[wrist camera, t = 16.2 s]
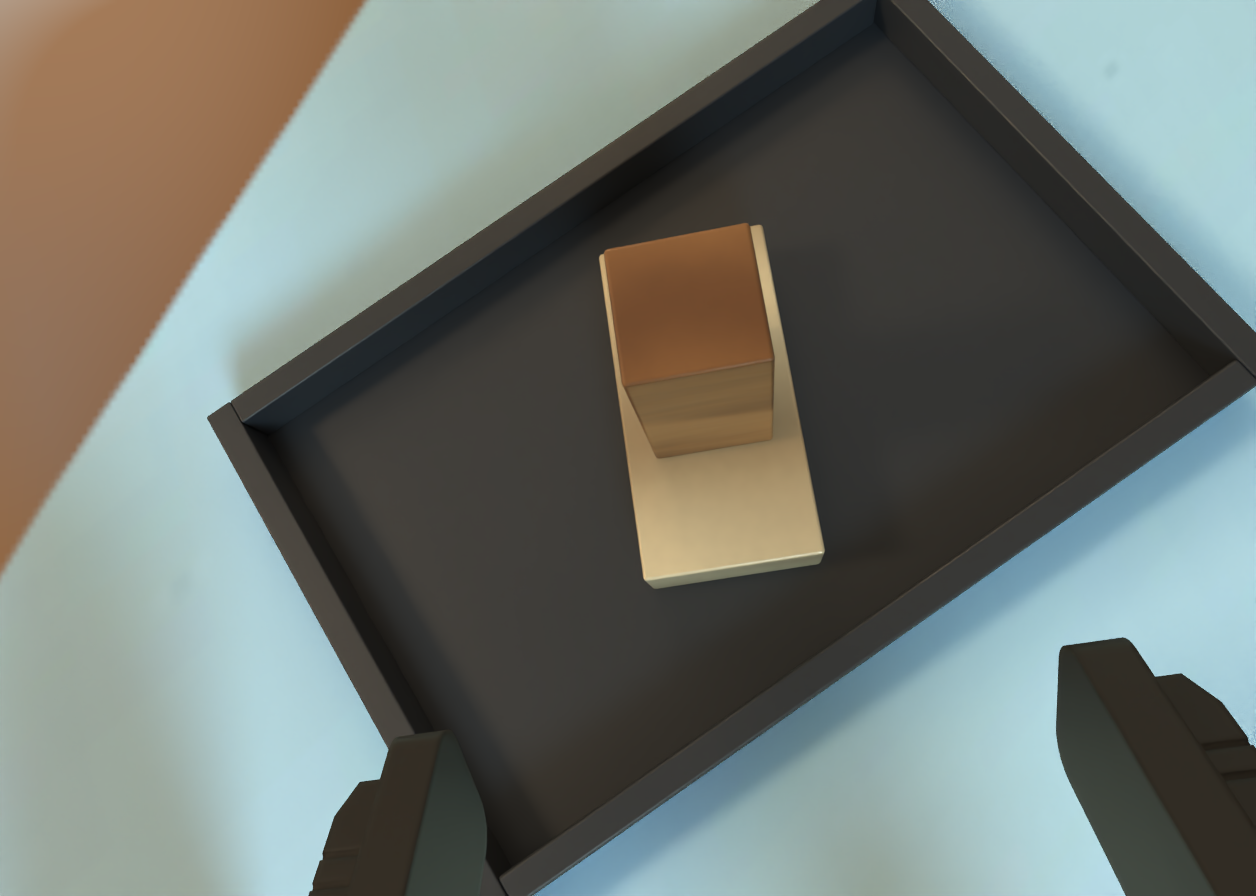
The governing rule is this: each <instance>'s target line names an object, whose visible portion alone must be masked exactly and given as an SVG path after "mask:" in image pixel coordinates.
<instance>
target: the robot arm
mask: <svg viewBox="0 0 1256 896" xmlns="http://www.w3.org/2000/svg"><path fill="white" fill-rule="evenodd" d="M1056 735H1057V743H1058V748H1059V753H1060V757H1061V760H1062V764H1063V767H1064V770H1065V772H1066V775H1067V777H1068V779H1069V782H1070V784H1071V786H1072V788H1073V790H1074V792H1075V794H1076V796H1077V798H1078V800H1079V802H1080V804H1081V806H1082V808H1083V810H1084V812H1085V814H1086V816H1087V818H1088V820H1089V822H1090V824H1091V826H1092V828H1093V830H1094V832H1095V834H1096V836H1097V838H1098V840H1099V842H1100V844H1101V846H1102V848H1103V850H1104V852H1105V854H1106V856H1107V858H1108V860H1109V863H1110V865H1111V867H1112V869H1113V871H1114V873H1115V875H1116V877H1117V879H1118V881H1119V883H1120V885H1121V887H1122V889H1123V891H1124V893H1125V895H1126V896H1256V748H1255V747H1254V745H1250V744H1249V742H1248V737H1247V736H1246V734H1245V733H1244V732H1243V730H1242V729H1241V728H1240V726H1239V725H1238V724H1237V722H1236V721H1235V719H1234V718H1233V717H1232V715H1231V714H1230V713H1229V711H1228V710H1227V709H1226V707H1225V706H1224V704H1223V703H1222V702H1221V701H1220V700H1218V699H1217V698H1215V697H1214V696H1212V695H1211V694H1210V693H1208V692H1207V691H1205V690H1204V689H1203V688H1201V687H1200V686H1198V685H1197V684H1196V683H1194V682H1193V681H1191V680H1190V679H1188V678H1187V677H1186V676H1184V675H1183V674H1173V675H1166V676H1159V677H1155V676H1154V674H1153V673H1152V672H1151V670H1150V669H1149V667H1148V666H1147V664H1146V663H1145V661H1144V660H1143V658H1142V657H1141V655H1140V654H1139V652H1138V651H1137V649H1136V648H1135V646H1134V645H1133V644H1132V643H1131V642H1130V641H1129V640H1128V639H1126V638H1116V639H1109V640H1102V641H1095V642H1088V643H1080V644H1073V645H1066V646H1063V647H1062V648H1061V650H1060V653H1059V667H1058V692H1057V718H1056ZM486 848H487V825H486V817H485V811H484V807H483V803H482V800H481V798H480V795H479V793H478V790H477V788H476V785H475V783H474V780H473V778H472V775H471V773H470V770H469V768H468V766H467V763H466V761H465V758H464V756H463V753H462V751H461V748H460V746H459V743H458V741H457V738H456V736H455V735H454V733H453V732H452V731H451V730H442V731H435V732H428V733H420V734H413V735H406V736H399V737H396V738H394V740H393V741H392V743H391V744H390V747H389V750H388V753H387V757H386V760H385V764H384V767H383V771H382V774H381V778H380V779H379V780H372V781H364V782H360V783H359V784H358V785H357V787H356V788H355V789H354V791H353V792H352V793H351V795H350V796H349V797H348V799H347V800H346V801H345V803H344V804H343V806H342V807H341V808H340V810H339V811H338V812H337V814H336V815H335V816H334V819H333V822H332V826H331V829H330V832H329V835H328V838H327V841H326V844H325V847H324V850H323V853H322V854H323V860H321V861H320V862H319V865H318V868H317V871H316V874H315V877H314V880H313V883H312V884H313V891H310V893H309V896H479V894H480V888H481V882H482V875H483V869H484V862H485V856H486Z"/></svg>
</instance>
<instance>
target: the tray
mask: <svg viewBox="0 0 1256 896" xmlns="http://www.w3.org/2000/svg"><path fill="white" fill-rule="evenodd" d="M742 223H748V224H749V226H755V225H762V227H763V230H764V235H765V241H766V246H767V251H768V256H769V261H770V267H771V272H772V277H773V282H774V287H775V293H776V298H777V303H778V308H779V313H780V319H781V324H782V329H783V334H784V340H785V345H786V350H787V355H788V360H789V366H790V371H791V376H792V381H793V386H794V392H795V397H796V402H797V407H798V412H799V418H800V423H801V428H802V433H803V438H804V444H805V449H806V454H807V459H808V465H809V470H810V475H811V480H812V485H813V491H814V496H815V501H816V506H817V511H818V517H819V522H820V527H821V532H822V537H823V543H824V548H825V552H824V555H823V557H822V560H821V562H820V563H819V564H816V565H810V566H803V567H797V568H790V569H784V570H777V571H770V572H764V573H757V574H751V575H744V576H738V577H731V578H725V579H718V580H711V581H705V582H698V583H692V584H685V585H679V586H672V587H666V588H659V589H654V588H652V587H651V586H650V585H649V584H648V583H647V582H646V581H645V580H644V578H643V572H642V564H641V557H640V550H639V543H638V536H637V528H636V521H635V514H634V507H633V499H632V492H631V485H630V478H629V471H628V463H627V456H626V449H625V442H624V435H623V427H622V420H621V413H620V406H619V399H618V391H617V384H616V377H615V370H614V363H613V355H612V348H611V341H610V334H609V326H608V319H607V312H606V305H605V298H604V290H603V283H602V276H601V269H600V262H599V257H600V255H602V254H604V252H605V250H607V249H611V248H616V247H622V246H627V245H632V244H637V243H643V242H648V241H653V240H658V239H664V238H669V237H674V236H679V235H685V234H690V233H695V232H700V231H706V230H711V229H716V228H721V227H727V226H732V225H737V224H742ZM1255 386H1256V332H1255V331H1254V330H1253V329H1252V328H1251V327H1250V326H1249V325H1248V324H1247V323H1246V322H1245V321H1244V320H1243V319H1242V318H1241V317H1240V316H1239V315H1238V314H1237V313H1236V312H1235V311H1234V310H1233V309H1232V308H1231V307H1230V306H1229V305H1228V304H1227V303H1226V302H1225V301H1224V300H1223V299H1222V298H1221V297H1220V296H1219V295H1218V294H1217V293H1216V292H1215V291H1214V290H1213V289H1212V288H1211V287H1210V286H1209V285H1208V284H1207V283H1206V282H1205V281H1204V280H1203V279H1202V278H1201V277H1200V276H1199V275H1198V274H1197V273H1196V272H1195V271H1194V270H1193V269H1192V268H1191V267H1190V266H1189V265H1188V264H1187V262H1186V261H1185V260H1184V259H1183V258H1182V257H1181V256H1180V255H1179V254H1178V253H1177V252H1176V251H1175V250H1174V249H1173V248H1172V247H1171V246H1170V245H1169V244H1168V243H1167V242H1166V241H1165V240H1164V239H1163V238H1162V237H1161V236H1160V235H1159V234H1158V233H1157V232H1156V231H1155V230H1154V229H1153V228H1152V227H1151V226H1150V225H1149V224H1148V223H1147V222H1146V221H1145V220H1144V219H1143V218H1142V217H1141V216H1140V215H1139V214H1138V213H1137V212H1136V211H1135V210H1134V209H1133V208H1132V207H1131V206H1130V205H1129V204H1128V203H1127V202H1126V201H1125V200H1124V199H1123V198H1122V197H1121V196H1120V195H1119V194H1118V193H1117V192H1116V191H1115V190H1114V189H1113V188H1112V187H1111V186H1110V185H1109V183H1108V182H1107V181H1106V180H1105V179H1104V178H1103V177H1102V176H1101V175H1100V174H1099V173H1098V172H1097V171H1096V170H1095V169H1094V168H1093V167H1092V166H1091V165H1090V164H1089V163H1088V162H1087V161H1086V160H1085V159H1084V158H1083V157H1082V156H1081V155H1080V154H1079V153H1078V152H1077V151H1076V150H1075V149H1074V148H1073V147H1072V146H1071V145H1070V144H1069V143H1068V142H1067V141H1066V140H1065V139H1064V138H1063V137H1062V136H1061V135H1060V134H1059V133H1058V132H1057V131H1056V130H1055V129H1054V128H1053V127H1052V126H1051V125H1050V124H1049V123H1048V122H1047V121H1046V120H1045V119H1044V118H1043V117H1042V116H1041V115H1040V114H1039V113H1038V112H1037V111H1036V110H1035V109H1034V108H1033V107H1032V105H1031V104H1030V103H1029V102H1028V101H1027V100H1026V99H1025V98H1024V97H1023V96H1022V95H1021V94H1020V93H1019V92H1018V91H1017V90H1016V89H1015V88H1014V87H1013V86H1012V85H1011V84H1010V83H1009V82H1008V81H1007V80H1006V79H1005V78H1004V77H1003V76H1002V75H1001V74H1000V73H999V72H998V71H997V70H996V69H995V68H994V67H993V66H992V65H991V64H990V63H989V62H988V61H987V60H986V59H985V58H984V57H983V56H982V55H981V54H980V53H979V52H978V51H977V50H976V49H975V48H974V47H973V46H972V45H971V44H970V43H969V42H968V41H967V40H966V39H965V38H964V37H963V36H962V35H961V34H960V33H959V32H958V31H957V30H956V29H955V27H954V26H953V25H952V24H951V23H950V22H949V21H948V20H947V19H946V18H945V17H944V16H943V15H942V14H941V13H940V12H939V11H938V10H937V9H936V8H935V7H934V6H933V5H932V4H931V3H930V2H929V1H928V0H820V1H819V2H817V3H816V4H814V5H813V6H812V7H810V8H809V9H807V10H806V11H804V12H803V13H801V14H800V15H798V16H797V17H795V18H794V19H792V20H791V21H789V22H788V23H787V24H785V25H784V26H782V27H781V28H779V29H778V30H776V31H775V32H773V33H772V34H770V35H769V36H767V37H766V38H764V39H763V40H762V41H760V42H759V43H757V44H756V45H754V46H753V47H751V48H750V49H748V50H747V51H745V52H744V53H742V54H741V55H739V56H738V57H737V58H735V59H734V60H732V61H731V62H729V63H728V64H726V65H725V66H723V67H722V68H720V69H719V70H717V71H716V72H714V73H713V74H712V75H710V76H709V77H707V78H706V79H704V80H703V81H701V82H700V83H698V84H697V85H695V86H694V87H692V88H691V89H689V90H688V91H686V92H685V93H684V94H682V95H681V96H679V97H678V98H676V99H675V100H673V101H672V102H670V103H669V104H667V105H666V106H664V107H663V108H661V109H660V110H659V111H657V112H656V113H654V114H653V115H651V116H650V117H648V118H647V119H645V120H644V121H642V122H641V123H639V124H638V125H636V126H635V127H634V128H632V129H631V130H629V131H628V132H626V133H625V134H623V135H622V136H620V137H619V138H617V139H616V140H614V141H613V142H611V143H610V144H609V145H607V146H606V147H604V148H603V149H601V150H600V151H598V152H597V153H595V154H594V155H592V156H591V157H589V158H588V159H586V160H585V161H583V162H582V163H581V164H579V165H578V166H576V167H575V168H573V169H572V170H570V171H569V172H567V173H566V174H564V175H563V176H561V177H560V178H558V179H557V180H556V181H554V182H553V183H551V184H550V185H548V186H547V187H545V188H544V189H542V190H541V191H539V192H538V193H536V194H535V195H533V196H532V197H531V198H529V199H528V200H526V201H525V202H523V203H522V204H520V205H519V206H517V207H516V208H514V209H513V210H511V211H510V212H508V213H507V214H506V215H504V216H503V217H501V218H500V219H498V220H497V221H495V222H494V223H492V224H491V225H489V226H488V227H486V228H485V229H483V230H482V231H480V232H479V233H478V234H476V235H475V236H473V237H472V238H470V239H469V240H467V241H466V242H464V243H463V244H461V245H460V246H458V247H457V248H455V249H454V250H453V251H451V252H450V253H448V254H447V255H445V256H444V257H442V258H441V259H439V260H438V261H436V262H435V263H433V264H432V265H430V266H429V267H428V268H426V269H425V270H423V271H422V272H420V273H419V274H417V275H416V276H414V277H413V278H411V279H410V280H408V281H407V282H405V283H404V284H403V285H401V286H400V287H398V288H397V289H395V290H394V291H392V292H391V293H389V294H388V295H386V296H385V297H383V298H382V299H380V300H379V301H378V302H376V303H375V304H373V305H372V306H370V307H369V308H367V309H366V310H364V311H363V312H361V313H360V314H358V315H357V316H355V317H354V318H352V319H351V320H350V321H348V322H347V323H345V324H344V325H342V326H341V327H339V328H338V329H336V330H335V331H333V332H332V333H330V334H329V335H327V336H326V337H325V338H323V339H322V340H320V341H319V342H317V343H316V344H314V345H313V346H311V347H310V348H308V349H307V350H305V351H304V352H302V353H301V354H300V355H298V356H297V357H295V358H294V359H292V360H291V361H289V362H288V363H286V364H285V365H283V366H282V367H280V368H279V369H277V370H276V371H275V372H273V373H272V374H270V375H269V376H267V377H266V378H264V379H263V380H261V381H260V382H258V383H257V384H255V385H254V386H252V387H251V388H249V389H248V390H247V391H245V392H244V393H242V394H241V395H239V396H238V397H236V398H235V399H233V400H232V401H231V403H230V402H229V403H227V404H226V405H224V406H223V407H221V408H220V409H218V410H217V411H215V412H214V413H212V414H211V415H209V416H208V417H207V419H208V421H209V422H210V424H211V426H212V428H213V430H214V432H215V433H216V435H217V437H218V439H219V441H220V443H221V444H222V446H223V448H224V450H225V452H226V454H227V455H228V457H229V459H230V461H231V463H232V464H233V466H234V468H235V470H236V472H237V474H238V475H239V477H240V479H241V481H242V483H243V485H244V486H245V488H246V490H247V492H248V494H249V495H250V497H251V499H252V501H253V503H254V505H255V506H256V508H257V510H258V512H259V514H260V516H261V517H262V519H263V521H264V523H265V525H266V527H267V528H268V530H269V532H270V534H271V536H272V537H273V539H274V541H275V543H276V545H277V547H278V548H279V550H280V552H281V554H282V556H283V558H284V559H285V561H286V563H287V565H288V567H289V568H290V570H291V572H292V574H293V576H294V578H295V579H296V581H297V583H298V585H299V587H300V589H301V590H302V592H303V594H304V596H305V598H306V599H307V601H308V603H309V605H310V607H311V609H312V610H313V612H314V614H315V616H316V618H317V620H318V621H319V623H320V625H321V627H322V629H323V631H324V632H325V634H326V636H327V638H328V640H329V641H330V643H331V645H332V647H333V649H334V651H335V652H336V654H337V656H338V658H339V660H340V662H341V663H342V665H343V667H344V669H345V671H346V672H347V674H348V676H349V678H350V680H351V682H352V683H353V685H354V687H355V689H356V691H357V693H358V694H359V696H360V698H361V700H362V702H363V704H364V705H365V707H366V709H367V711H368V713H369V714H370V716H371V718H372V720H373V722H374V724H375V725H376V727H377V729H378V731H379V733H380V735H381V736H382V738H383V740H384V742H385V744H386V745H387V747H388V749H389V747H390V744H391V743H392V741H393V740H394V738H396V737H399V736H406V735H413V734H420V733H428V732H435V731H442V730H451V731H452V732H453V733H454V735H455V736H456V738H457V741H458V743H459V746H460V748H461V751H462V753H463V756H464V758H465V761H466V763H467V766H468V768H469V770H470V773H471V775H472V778H473V780H474V783H475V785H476V788H477V790H478V793H479V795H480V798H481V800H482V803H483V807H484V811H485V817H486V825H487V848H486V856H485V862H484V869H483V875H482V882H481V888H480V894H479V896H533V895H534V894H536V893H537V892H538V891H540V890H541V889H543V888H544V887H545V886H547V885H548V884H550V883H551V882H553V881H554V880H555V879H557V878H558V877H560V876H561V875H563V874H564V873H565V872H567V871H568V870H570V869H571V868H572V867H574V866H575V865H577V864H578V863H580V862H581V861H582V860H584V859H585V858H587V857H588V856H590V855H591V854H592V853H594V852H595V851H597V850H598V849H599V848H601V847H602V846H604V845H605V844H607V843H608V842H609V841H611V840H612V839H614V838H615V837H616V836H618V835H619V834H621V833H622V832H624V831H625V830H626V829H628V828H629V827H631V826H632V825H634V824H635V823H636V822H638V821H639V820H641V819H642V818H643V817H645V816H646V815H648V814H649V813H651V812H652V811H653V810H655V809H656V808H658V807H659V806H661V805H662V804H663V803H665V802H666V801H668V800H669V799H670V798H672V797H673V796H675V795H676V794H678V793H679V792H680V791H682V790H683V789H685V788H686V787H687V786H689V785H690V784H692V783H693V782H695V781H696V780H697V779H699V778H700V777H702V776H703V775H705V774H706V773H707V772H709V771H710V770H712V769H713V768H714V767H716V766H717V765H719V764H720V763H722V762H723V761H724V760H726V759H727V758H729V757H730V756H731V755H733V754H734V753H736V752H737V751H739V750H740V749H741V748H743V747H744V746H746V745H747V744H749V743H750V742H751V741H753V740H754V739H756V738H757V737H758V736H760V735H761V734H763V733H764V732H766V731H767V730H768V729H770V728H771V727H773V726H774V725H776V724H777V723H778V722H780V721H781V720H783V719H784V718H785V717H787V716H788V715H790V714H791V713H793V712H794V711H795V710H797V709H798V708H800V707H801V706H802V705H804V704H805V703H807V702H808V701H810V700H811V699H812V698H814V697H815V696H817V695H818V694H820V693H821V692H822V691H824V690H825V689H827V688H828V687H829V686H831V685H832V684H834V683H835V682H837V681H838V680H839V679H841V678H842V677H844V676H845V675H846V674H848V673H849V672H851V671H852V670H854V669H855V668H856V667H858V666H859V665H861V664H862V663H864V662H865V661H866V660H868V659H869V658H871V657H872V656H873V655H875V654H876V653H878V652H879V651H881V650H882V649H883V648H885V647H886V646H888V645H889V644H891V643H892V642H893V641H895V640H896V639H898V638H899V637H900V636H902V635H903V634H905V633H906V632H908V631H909V630H910V629H912V628H913V627H915V626H916V625H917V624H919V623H920V622H922V621H923V620H925V619H926V618H927V617H929V616H930V615H932V614H933V613H935V612H936V611H937V610H939V609H940V608H942V607H943V606H944V605H946V604H947V603H949V602H950V601H952V600H953V599H954V598H956V597H957V596H959V595H960V594H961V593H963V592H964V591H966V590H967V589H969V588H970V587H971V586H973V585H974V584H976V583H977V582H979V581H980V580H981V579H983V578H984V577H986V576H987V575H988V574H990V573H991V572H993V571H994V570H996V569H997V568H998V567H1000V566H1001V565H1003V564H1004V563H1006V562H1007V561H1008V560H1010V559H1011V558H1013V557H1014V556H1015V555H1017V554H1018V553H1020V552H1021V551H1023V550H1024V549H1025V548H1027V547H1028V546H1030V545H1031V544H1032V543H1034V542H1035V541H1037V540H1038V539H1040V538H1041V537H1042V536H1044V535H1045V534H1047V533H1048V532H1050V531H1051V530H1052V529H1054V528H1055V527H1057V526H1058V525H1059V524H1061V523H1062V522H1064V521H1065V520H1067V519H1068V518H1069V517H1071V516H1072V515H1074V514H1075V513H1076V512H1078V511H1079V510H1081V509H1082V508H1084V507H1085V506H1086V505H1088V504H1089V503H1091V502H1092V501H1094V500H1095V499H1096V498H1098V497H1099V496H1101V495H1102V494H1103V493H1105V492H1106V491H1108V490H1109V489H1111V488H1112V487H1113V486H1115V485H1116V484H1118V483H1119V482H1121V481H1122V480H1123V479H1125V478H1126V477H1128V476H1129V475H1130V474H1132V473H1133V472H1135V471H1136V470H1138V469H1139V468H1140V467H1142V466H1143V465H1145V464H1146V463H1147V462H1149V461H1150V460H1152V459H1153V458H1155V457H1156V456H1157V455H1159V454H1160V453H1162V452H1163V451H1165V450H1166V449H1167V448H1169V447H1170V446H1172V445H1173V444H1174V443H1176V442H1177V441H1179V440H1180V439H1182V438H1183V437H1184V436H1186V435H1187V434H1189V433H1190V432H1192V431H1193V430H1194V429H1196V428H1197V427H1199V426H1200V425H1201V424H1203V423H1204V422H1206V421H1207V420H1209V419H1210V418H1211V417H1213V416H1214V415H1216V414H1217V413H1218V412H1220V411H1221V410H1223V409H1224V408H1226V407H1227V406H1228V405H1230V404H1231V403H1233V402H1234V401H1236V400H1237V399H1238V398H1240V397H1241V396H1243V395H1244V394H1245V393H1247V392H1248V391H1250V390H1251V389H1253V388H1254V387H1255Z"/></svg>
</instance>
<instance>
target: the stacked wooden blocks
mask: <svg viewBox="0 0 1256 896" xmlns="http://www.w3.org/2000/svg"><path fill="white" fill-rule="evenodd" d="M599 262H600V269H601V276H602V283H603V290H604V298H605V305H606V312H607V319H608V326H609V334H610V341H611V348H612V355H613V363H614V370H615V377H616V384H617V391H618V399H619V406H620V413H621V420H622V427H623V435H624V442H625V449H626V456H627V463H628V471H629V478H630V485H631V492H632V499H633V507H634V514H635V521H636V528H637V536H638V543H639V550H640V557H641V564H642V572H643V578H644V580H645V581H646V582H647V583H648V584H649V585H650V586H651V587H652V588H654V589H659V588H666V587H672V586H679V585H685V584H692V583H698V582H705V581H711V580H718V579H725V578H731V577H738V576H744V575H751V574H757V573H764V572H770V571H777V570H784V569H790V568H797V567H803V566H810V565H816V564H819V563H820V562H821V560H822V557H823V555H824V552H825V548H824V543H823V537H822V532H821V527H820V522H819V517H818V511H817V506H816V501H815V496H814V491H813V485H812V480H811V475H810V470H809V465H808V459H807V454H806V449H805V444H804V438H803V433H802V428H801V423H800V418H799V412H798V407H797V402H796V397H795V392H794V386H793V381H792V376H791V371H790V366H789V360H788V355H787V350H786V345H785V340H784V334H783V329H782V324H781V319H780V313H779V308H778V303H777V298H776V293H775V287H774V282H773V277H772V272H771V267H770V261H769V256H768V251H767V246H766V241H765V235H764V230H763V227H762V225H755V226H749V224H748V223H742V224H737V225H732V226H727V227H721V228H716V229H711V230H706V231H700V232H695V233H690V234H685V235H679V236H674V237H669V238H664V239H658V240H653V241H648V242H643V243H637V244H632V245H627V246H622V247H616V248H611V249H607V250H605V252H604V254H602V255H600V257H599Z"/></svg>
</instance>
